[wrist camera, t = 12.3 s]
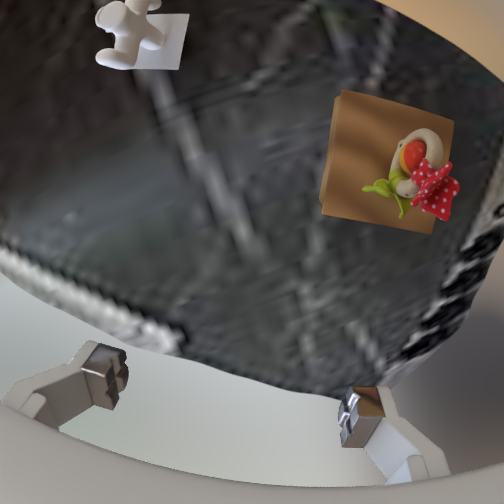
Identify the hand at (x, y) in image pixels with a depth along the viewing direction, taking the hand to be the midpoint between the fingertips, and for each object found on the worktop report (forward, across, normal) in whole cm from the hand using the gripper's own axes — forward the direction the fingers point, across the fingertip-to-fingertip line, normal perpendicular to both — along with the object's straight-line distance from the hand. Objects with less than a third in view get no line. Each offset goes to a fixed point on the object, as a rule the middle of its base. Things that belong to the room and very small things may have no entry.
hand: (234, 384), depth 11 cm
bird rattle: (+26, -13, -7) cm, 29 cm away
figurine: (+31, +15, -18) cm, 39 cm away
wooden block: (+31, -13, -7) cm, 35 cm away
